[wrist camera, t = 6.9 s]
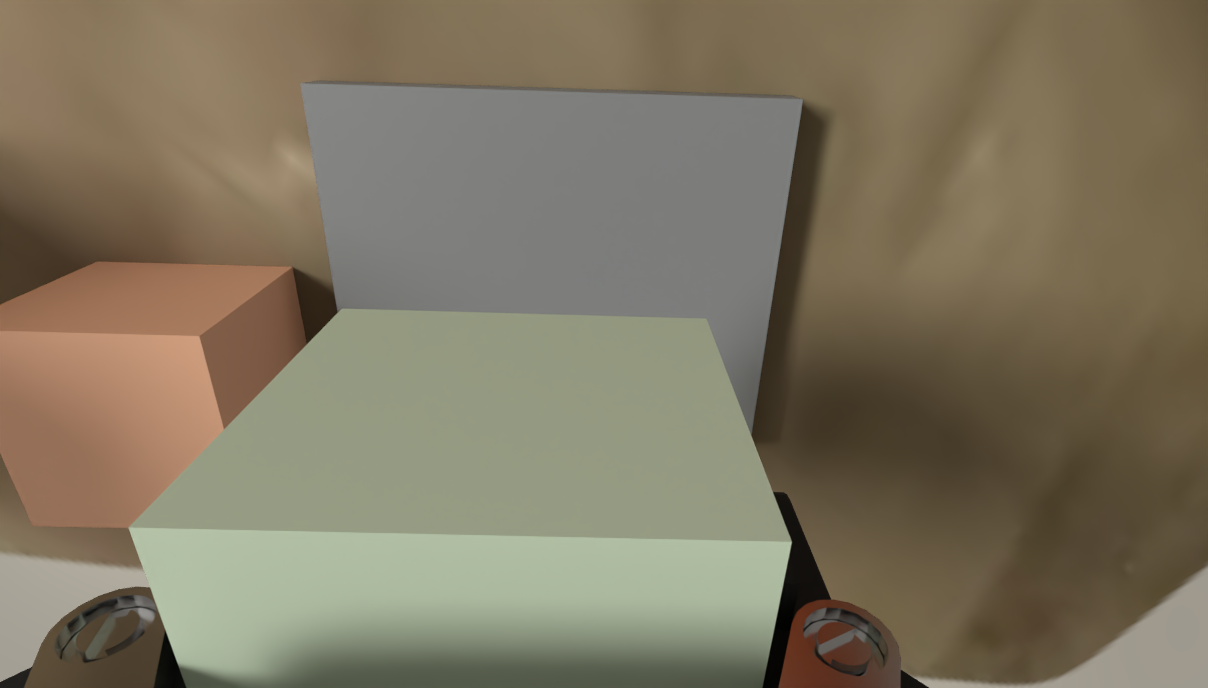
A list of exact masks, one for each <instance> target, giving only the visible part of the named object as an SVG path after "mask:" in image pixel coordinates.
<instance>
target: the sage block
mask: <svg viewBox="0 0 1208 688" xmlns="http://www.w3.org/2000/svg"><path fill="white" fill-rule="evenodd" d="M129 531H130V533H131V536H132V539H133V542H134V545H135V547H136V550H137V553H138V556H139V558H140V561H141V564H142V567H143V569H144V572H145V575H146V577H147V580H148V583H149V586H150V589H151V591H152V594H153V597H154V600H155V602H156V605H157V608H158V611H159V613H160V616H161V619H162V622H163V624H164V627H165V630H166V633H167V635H168V638H169V641H170V644H171V646H172V649H173V652H174V655H175V658H176V660H177V663H178V666H179V669H180V671H181V674H182V677H183V680H184V682H185V685H186V688H762V687H763V682H764V677H765V672H766V667H767V662H768V657H769V652H770V647H771V642H772V638H773V633H774V628H775V623H776V618H777V613H778V608H779V603H780V598H781V593H782V588H783V583H784V578H785V573H786V568H787V563H788V559H789V554H790V549H791V544H792V541H791V538H790V536H789V533H788V531H787V528H786V525H785V523H784V520H783V517H782V515H781V512H780V510H779V507H778V504H777V502H776V499H775V497H774V494H773V491H772V489H771V486H770V484H769V481H768V478H767V476H766V473H765V470H764V468H763V465H762V463H761V460H760V457H759V455H758V452H757V450H756V447H755V444H754V442H753V439H752V437H751V434H750V431H749V429H748V426H747V423H746V421H745V418H744V416H743V413H742V410H741V408H740V405H739V403H738V400H737V397H736V395H735V392H734V390H733V387H732V384H731V382H730V379H729V376H728V374H727V371H726V369H725V366H724V363H723V361H722V358H721V356H720V353H719V350H718V348H717V345H716V343H715V340H714V337H713V335H712V332H711V329H710V327H709V324H708V322H707V319H703V318H667V317H630V316H594V315H558V314H522V313H486V312H450V311H414V310H378V309H341V310H340V311H339V312H338V313H337V314H336V315H335V316H334V317H333V318H332V319H331V320H330V321H329V322H328V323H327V324H326V325H325V326H324V327H323V328H322V330H321V331H320V332H319V333H318V334H317V335H316V336H315V337H314V338H313V339H312V340H311V341H310V342H309V343H308V344H307V345H306V346H305V347H304V348H303V349H302V350H301V351H300V352H299V353H298V354H297V355H296V356H295V357H294V358H293V359H292V360H291V361H290V362H289V363H288V364H287V365H286V366H285V367H284V369H283V370H282V371H281V372H280V373H279V374H278V375H277V376H276V377H275V378H274V379H273V380H272V381H271V382H270V383H269V384H268V385H267V386H266V387H265V388H264V389H263V390H262V391H261V392H260V393H259V394H258V395H257V396H256V397H255V398H254V399H253V400H252V401H251V402H250V403H249V404H248V405H247V406H246V407H245V409H244V410H243V411H242V412H241V413H240V414H239V415H238V416H237V417H236V418H235V419H234V420H233V421H232V422H231V423H230V424H229V425H228V426H227V427H226V428H225V429H224V430H223V431H222V432H221V433H220V434H219V435H218V436H217V437H216V438H215V439H214V440H213V441H212V442H211V443H210V444H209V445H208V446H207V448H206V449H205V450H204V451H203V452H202V453H201V454H200V455H199V456H198V457H197V458H196V459H195V460H194V461H193V462H192V463H191V464H190V465H189V466H188V467H187V468H186V469H185V470H184V471H183V472H182V473H181V474H180V475H179V476H178V477H177V478H176V479H175V480H174V481H173V482H172V483H171V484H170V485H169V486H168V488H167V489H166V490H165V491H164V492H163V493H162V494H161V495H160V496H159V497H158V498H157V499H156V500H155V501H154V502H153V503H152V504H151V505H150V506H149V507H148V508H147V509H146V510H145V511H144V512H143V513H142V514H141V515H140V516H139V517H138V518H137V519H136V520H135V521H134V522H133V523H132V524H131V525H130V526H129Z"/></svg>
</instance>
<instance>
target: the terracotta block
mask: <svg viewBox="0 0 1208 688" xmlns="http://www.w3.org/2000/svg"><path fill="white" fill-rule="evenodd" d="M306 345H307V342H306V337H305V332H304V326H303V321H302V316H301V310H300V305H299V300H298V294H297V289H296V283H295V278H294V273H293V267H275V266H240V265H204V264H169V263H134V262H99V261H97V262H95V263H93V264H91V265H88V266H86V267H84V268H82V269H79V270H77V271H75V272H72V273H70V274H68V275H66V276H63V277H61V278H59V279H57V280H54V281H52V282H50V283H48V284H45V285H43V286H41V287H39V288H36V289H34V290H32V291H30V292H27V293H25V294H23V295H21V296H18V297H16V298H14V299H12V300H9V301H7V302H5V303H3V304H0V454H1V456H2V459H3V461H4V463H5V465H6V468H7V470H8V472H9V474H10V476H11V479H12V481H13V483H14V485H15V488H16V490H17V492H18V494H19V496H20V499H21V501H22V503H23V505H24V507H25V510H26V512H27V514H28V516H29V519H30V521H31V523H32V525H33V526H53V527H101V528H129V526H130V525H131V524H132V523H133V522H134V521H135V520H136V519H137V518H138V517H139V516H140V515H141V514H142V513H143V512H144V511H145V510H146V509H147V508H148V507H149V506H150V505H151V504H152V503H153V502H154V501H155V500H156V499H157V498H158V497H159V496H160V495H161V494H162V493H163V492H164V491H165V490H166V489H167V488H168V486H169V485H170V484H171V483H172V482H173V481H174V480H175V479H176V478H177V477H178V476H179V475H180V474H181V473H182V472H183V471H184V470H185V469H186V468H187V467H188V466H189V465H190V464H191V463H192V462H193V461H194V460H195V459H196V458H197V457H198V456H199V455H200V454H201V453H202V452H203V451H204V450H205V449H206V448H207V446H208V445H209V444H210V443H211V442H212V441H213V440H214V439H215V438H216V437H217V436H218V435H219V434H220V433H221V432H222V431H223V430H224V429H225V428H226V427H227V426H228V425H229V424H230V423H231V422H232V421H233V420H234V419H235V418H236V417H237V416H238V415H239V414H240V413H241V412H242V411H243V410H244V409H245V407H246V406H247V405H248V404H249V403H250V402H251V401H252V400H253V399H254V398H255V397H256V396H257V395H258V394H259V393H260V392H261V391H262V390H263V389H264V388H265V387H266V386H267V385H268V384H269V383H270V382H271V381H272V380H273V379H274V378H275V377H276V376H277V375H278V374H279V373H280V372H281V371H282V370H283V369H284V367H285V366H286V365H287V364H288V363H289V362H290V361H291V360H292V359H293V358H294V357H295V356H296V355H297V354H298V353H299V352H300V351H301V350H302V349H303V348H304V347H305V346H306Z"/></svg>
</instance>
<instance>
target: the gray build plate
mask: <svg viewBox="0 0 1208 688" xmlns="http://www.w3.org/2000/svg"><path fill="white" fill-rule="evenodd" d="M300 84H301V90H302V96H303V102H304V109H305V115H306V121H307V127H308V133H309V139H310V146H311V152H312V158H313V164H314V170H315V176H316V183H317V189H318V195H319V201H320V207H321V213H322V219H323V226H324V232H325V238H326V244H327V250H328V256H329V263H330V269H331V275H332V281H333V287H334V293H335V300H336V306H337V312H339V311H340V310H341V309H378V310H414V311H450V312H486V313H522V314H558V315H594V316H630V317H667V318H703V319H707V322H708V324H709V327H710V329H711V332H712V335H713V337H714V340H715V343H716V345H717V348H718V350H719V353H720V356H721V358H722V361H723V363H724V366H725V369H726V371H727V374H728V376H729V379H730V382H731V384H732V387H733V390H734V392H735V395H736V397H737V400H738V403H739V405H740V408H741V410H742V413H743V416H744V418H745V421H746V423H747V426H748V429H749V431H750V434H752V428H753V421H754V415H755V408H756V402H757V395H758V389H759V382H760V376H761V369H762V363H763V356H764V350H765V343H766V337H767V330H768V324H769V317H770V311H771V304H772V298H773V291H774V285H775V278H776V272H777V265H778V259H779V252H780V246H781V239H782V233H783V226H784V220H785V213H786V207H787V200H788V194H789V187H790V181H791V174H792V168H793V161H794V155H795V148H796V142H797V135H798V129H799V122H800V116H801V109H802V103H803V99H801V98H797V97H794V96H786V95H754V94H723V93H691V92H660V91H628V90H596V89H565V88H533V87H502V86H470V85H439V84H407V83H375V82H344V81H312V82H306V83H300Z"/></svg>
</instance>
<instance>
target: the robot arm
mask: <svg viewBox="0 0 1208 688" xmlns="http://www.w3.org/2000/svg"><path fill="white" fill-rule="evenodd" d="M773 494H774V497H775V499H776V502H777V504H778V507H779V510H780V512H781V515H782V517H783V520H784V523H785V525H786V528H787V531H788V533H789V536H790V538H791V541H792V544H791V549H790V554H789V559H788V563H787V568H786V573H785V578H784V583H783V588H782V593H781V598H780V603H779V608H778V613H777V618H776V623H775V628H774V633H773V638H772V642H771V647H770V652H769V657H768V662H767V667H766V672H765V677H764V682H763V687H762V688H929V687H927V686H925V685H924V684H922V683H921V682H919V681H918V680H916V679H915V678H913V677H911V676H910V675H908V674H907V673H905V672H904V671H902V670H901V657H900V652H899V646H898V644H897V642H896V640H895V638H894V637H893V635H892V633H891V631H890V630H889V629H888V628H887V627H886V626H885V625H884V624H883V623H882V622H881V621H880V620H879V619H878V618H876V617H875V616H873V615H872V614H870V613H869V612H868V611H866V610H864V609H862V608H860V607H858V606H855V605H853V604H851V603H847V602H843V601H838V600H831V598H830V596H829V593H828V591H827V588H826V586H825V583H824V581H823V579H822V576H821V574H820V571H819V569H818V567H817V564H816V562H815V559H814V557H813V554H812V552H811V550H810V547H809V545H808V542H807V540H806V538H805V535H804V533H803V530H802V528H801V525H800V523H799V521H798V518H797V516H796V513H795V511H794V509H793V506H792V504H791V501H790V499H789V498H788V496H787V494H785V493H782V492H773ZM0 688H186V685H185V682H184V680H183V677H182V674H181V671H180V669H179V666H178V663H177V660H176V658H175V655H174V652H173V649H172V646H171V644H170V641H169V638H168V635H167V633H166V630H165V627H164V624H163V622H162V619H161V616H160V613H159V611H158V608H157V605H156V602H155V600H154V597H153V594H152V591H151V589H150V588H149V587H148V588H147V587H132V588H125V589H118V590H115V591H112V592H109V593H106V594H103V595H100V596H98V597H96V598H94V599H92V600H90V601H88V602H86V603H84V604H82V605H80V606H79V607H77V608H76V609H75V610H73V611H72V612H70V613H69V614H67V615H66V616H64V617H63V618H62V619H61V620H60V621H59V622H58V623H57V624H56V625H55V626H54V627H53V628H52V629H51V630H50V631H49V633H48V634H47V636H46V637H45V639H44V641H43V642H42V644H41V647H40V649H39V652H38V654H37V657H36V659H35V661H34V664H33V666H32V667H31V668H29V669H27V670H25V671H22V672H20V673H18V674H16V675H14V676H12V677H10V678H8V679H6V680H4V681H2V682H0Z"/></svg>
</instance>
